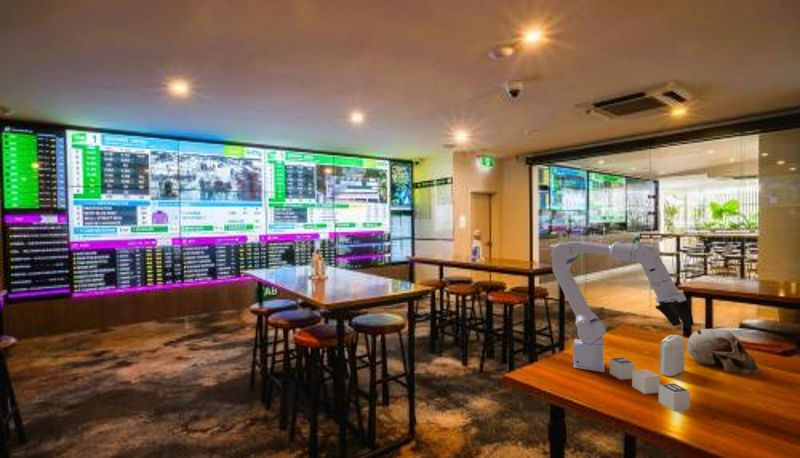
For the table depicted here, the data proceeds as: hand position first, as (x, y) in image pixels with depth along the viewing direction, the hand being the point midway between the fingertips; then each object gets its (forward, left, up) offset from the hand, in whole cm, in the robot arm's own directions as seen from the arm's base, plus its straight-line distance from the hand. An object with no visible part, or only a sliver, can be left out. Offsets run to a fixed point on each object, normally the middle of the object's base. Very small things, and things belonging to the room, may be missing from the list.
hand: (683, 325), depth 118 cm
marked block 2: (-4, -12, -20) cm, 23 cm away
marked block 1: (-16, +4, -20) cm, 26 cm away
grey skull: (+16, +28, -20) cm, 38 cm away
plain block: (-10, -4, -20) cm, 22 cm away
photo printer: (-1, +14, -20) cm, 25 cm away
